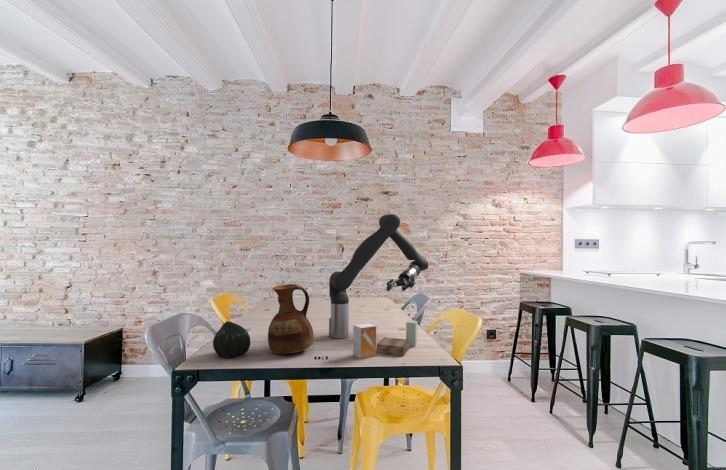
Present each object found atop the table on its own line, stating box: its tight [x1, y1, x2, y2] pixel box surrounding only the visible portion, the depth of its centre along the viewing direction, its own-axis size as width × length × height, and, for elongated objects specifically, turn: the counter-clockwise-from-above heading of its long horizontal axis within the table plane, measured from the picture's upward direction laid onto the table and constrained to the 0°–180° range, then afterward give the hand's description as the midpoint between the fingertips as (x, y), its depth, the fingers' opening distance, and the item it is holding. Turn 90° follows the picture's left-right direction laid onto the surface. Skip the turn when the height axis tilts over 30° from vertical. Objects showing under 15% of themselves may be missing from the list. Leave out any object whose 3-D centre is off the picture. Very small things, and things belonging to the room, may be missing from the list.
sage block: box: [405, 320, 418, 348], centre depth 175 cm, size 4×4×11 cm
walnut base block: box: [376, 337, 410, 357], centre depth 165 cm, size 12×12×4 cm
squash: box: [212, 320, 251, 359], centre depth 158 cm, size 14×15×15 cm
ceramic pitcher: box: [267, 283, 315, 355], centre depth 164 cm, size 20×20×30 cm
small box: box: [352, 323, 377, 360], centre depth 158 cm, size 8×6×13 cm
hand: (395, 289), depth 184 cm, fingers open, 8 cm apart
